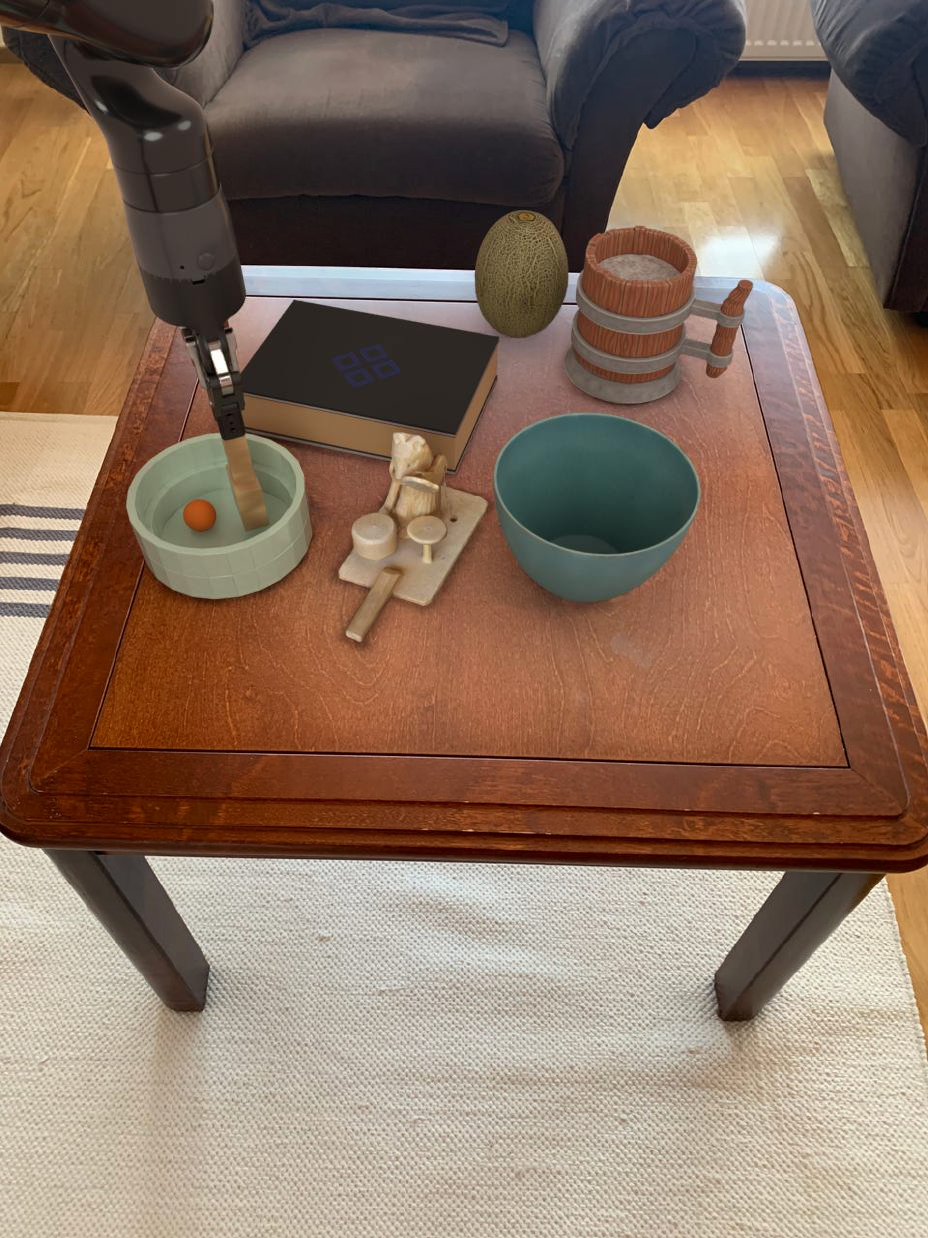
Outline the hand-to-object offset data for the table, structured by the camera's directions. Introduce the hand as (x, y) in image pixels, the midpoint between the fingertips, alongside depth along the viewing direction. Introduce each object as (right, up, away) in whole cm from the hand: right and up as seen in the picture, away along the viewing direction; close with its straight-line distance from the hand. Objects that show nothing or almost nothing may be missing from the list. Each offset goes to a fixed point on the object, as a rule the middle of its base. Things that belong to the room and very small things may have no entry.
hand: (230, 426), depth 83 cm
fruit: (+28, +19, +33) cm, 47 cm away
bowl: (-2, -9, +10) cm, 14 cm away
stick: (0, -7, +9) cm, 11 cm away
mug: (+43, +12, +27) cm, 52 cm away
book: (+11, +7, +23) cm, 26 cm away
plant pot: (+33, -13, +8) cm, 36 cm away
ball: (-5, -7, +9) cm, 12 cm away
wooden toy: (+15, -12, +8) cm, 21 cm away
